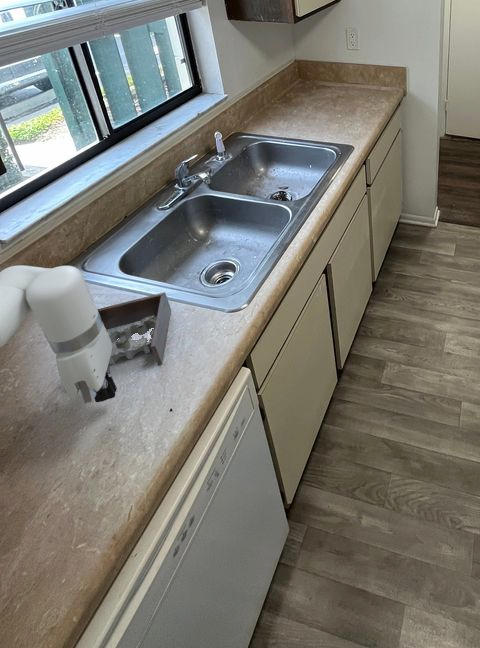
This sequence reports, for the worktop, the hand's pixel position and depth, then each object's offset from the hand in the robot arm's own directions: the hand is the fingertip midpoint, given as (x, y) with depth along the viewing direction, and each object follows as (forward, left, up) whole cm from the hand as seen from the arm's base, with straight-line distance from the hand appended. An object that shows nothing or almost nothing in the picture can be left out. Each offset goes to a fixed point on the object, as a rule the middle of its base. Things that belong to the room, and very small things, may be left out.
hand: (106, 395), depth 84 cm
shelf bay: (0, +14, -4) cm, 14 cm away
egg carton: (+1, +14, -4) cm, 14 cm away
